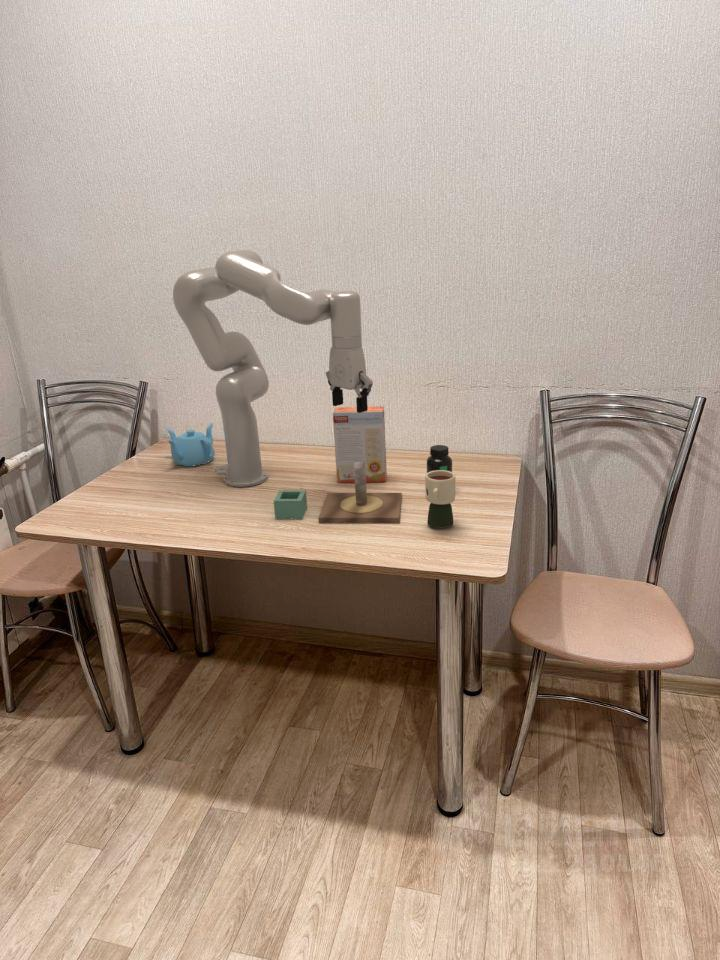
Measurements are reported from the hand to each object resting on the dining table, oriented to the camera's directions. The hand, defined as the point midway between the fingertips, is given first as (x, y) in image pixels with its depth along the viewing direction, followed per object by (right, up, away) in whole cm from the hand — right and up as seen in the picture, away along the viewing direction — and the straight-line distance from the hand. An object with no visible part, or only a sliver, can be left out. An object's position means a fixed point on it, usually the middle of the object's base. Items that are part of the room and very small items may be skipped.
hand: (349, 408), depth 180 cm
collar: (-15, -27, -2) cm, 31 cm away
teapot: (-51, -13, +40) cm, 66 cm away
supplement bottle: (+24, -21, +9) cm, 34 cm away
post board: (+3, -26, -2) cm, 27 cm away
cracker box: (+3, -19, +19) cm, 27 cm away
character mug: (+22, -30, -12) cm, 39 cm away
